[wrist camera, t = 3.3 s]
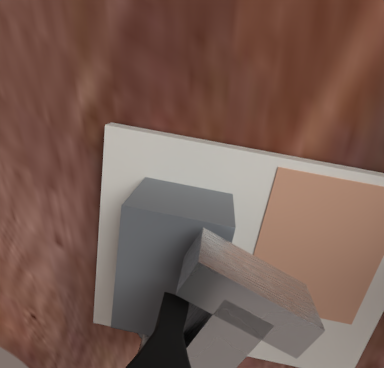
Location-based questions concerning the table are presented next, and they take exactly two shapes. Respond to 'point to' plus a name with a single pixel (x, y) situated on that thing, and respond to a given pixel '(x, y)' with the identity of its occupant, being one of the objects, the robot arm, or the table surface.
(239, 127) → the table surface
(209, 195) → the grey rectangular block
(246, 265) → the latch
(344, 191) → the board
